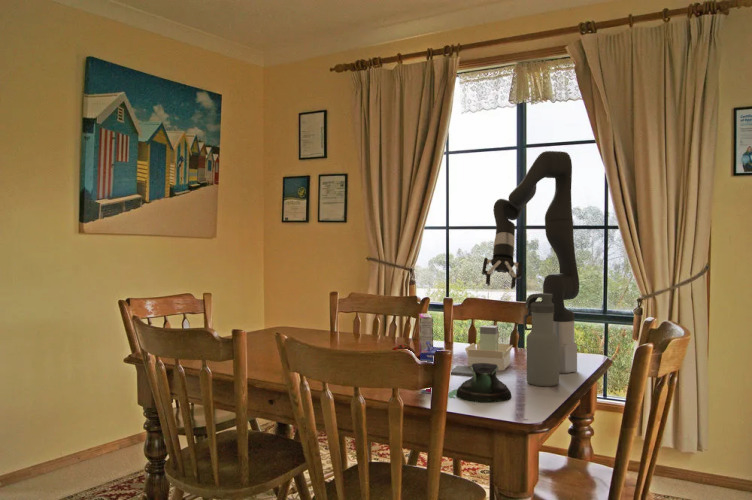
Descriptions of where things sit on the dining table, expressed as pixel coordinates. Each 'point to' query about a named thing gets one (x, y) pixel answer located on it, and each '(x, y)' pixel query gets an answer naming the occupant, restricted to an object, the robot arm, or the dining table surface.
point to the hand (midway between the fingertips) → (500, 286)
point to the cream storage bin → (489, 355)
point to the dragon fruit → (403, 347)
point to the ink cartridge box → (428, 357)
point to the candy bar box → (425, 330)
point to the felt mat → (462, 370)
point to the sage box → (489, 337)
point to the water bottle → (541, 342)
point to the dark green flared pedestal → (483, 386)
